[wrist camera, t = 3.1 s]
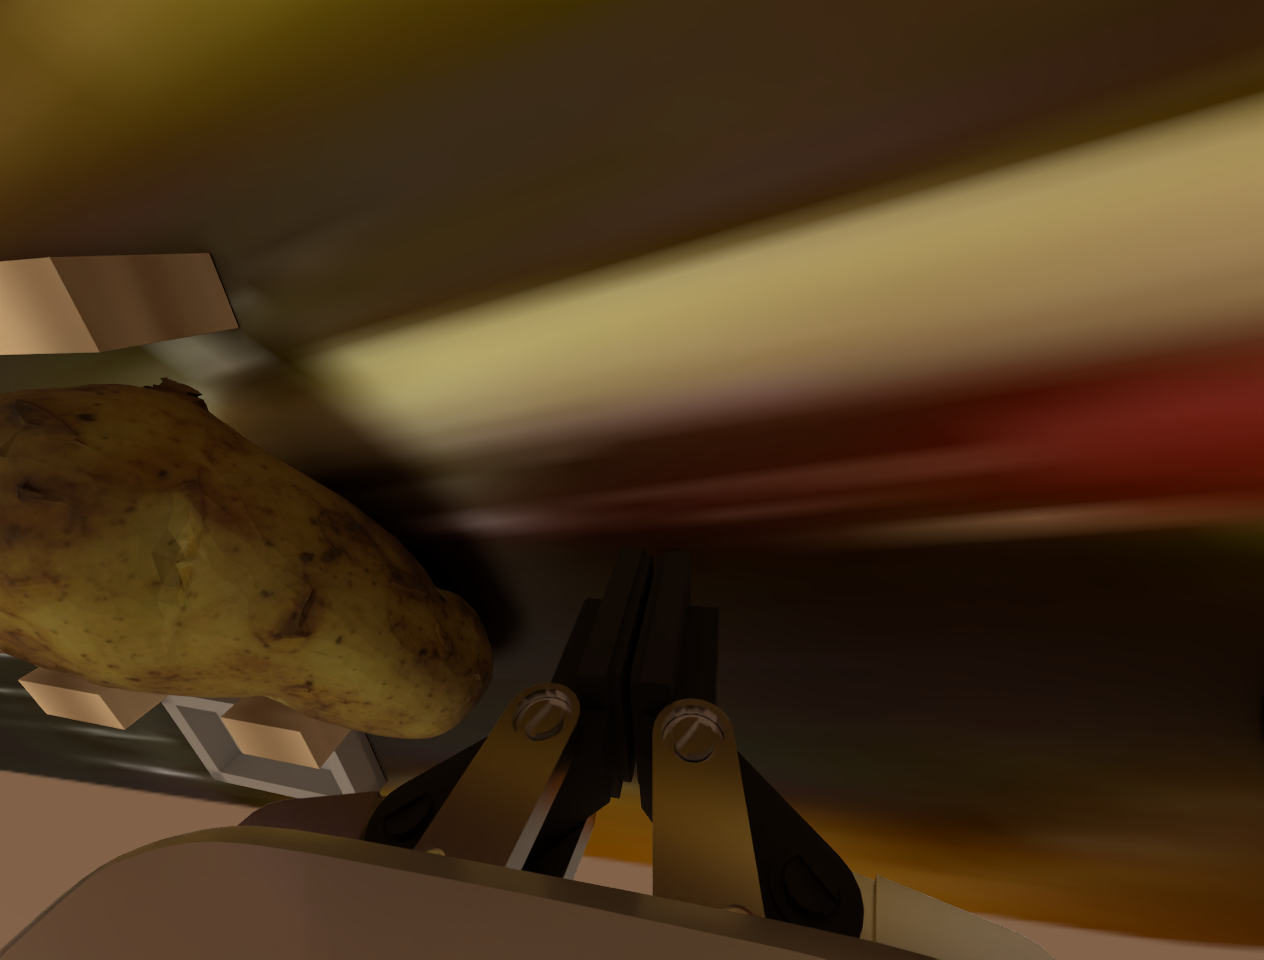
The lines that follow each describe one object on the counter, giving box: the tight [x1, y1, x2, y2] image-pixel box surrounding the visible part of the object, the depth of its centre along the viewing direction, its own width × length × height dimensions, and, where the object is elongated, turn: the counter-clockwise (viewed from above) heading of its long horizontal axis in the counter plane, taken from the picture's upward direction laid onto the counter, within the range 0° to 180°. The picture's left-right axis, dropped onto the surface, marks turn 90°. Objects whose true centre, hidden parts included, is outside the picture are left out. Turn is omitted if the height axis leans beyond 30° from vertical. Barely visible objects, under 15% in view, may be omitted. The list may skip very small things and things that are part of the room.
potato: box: [0, 377, 493, 739], centre depth 13 cm, size 8×13×8 cm, turn 19°
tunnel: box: [0, 253, 352, 769], centre depth 17 cm, size 14×17×4 cm
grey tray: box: [161, 695, 386, 798], centre depth 23 cm, size 9×6×2 cm
